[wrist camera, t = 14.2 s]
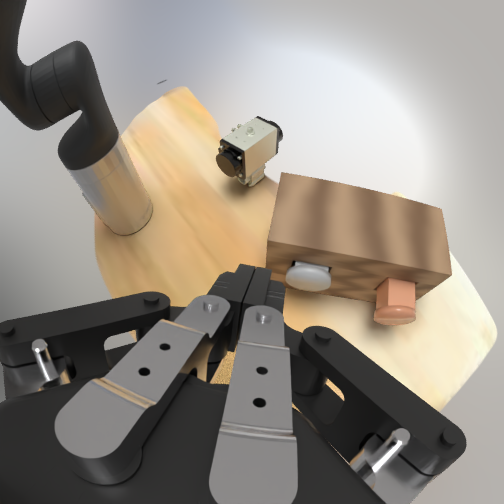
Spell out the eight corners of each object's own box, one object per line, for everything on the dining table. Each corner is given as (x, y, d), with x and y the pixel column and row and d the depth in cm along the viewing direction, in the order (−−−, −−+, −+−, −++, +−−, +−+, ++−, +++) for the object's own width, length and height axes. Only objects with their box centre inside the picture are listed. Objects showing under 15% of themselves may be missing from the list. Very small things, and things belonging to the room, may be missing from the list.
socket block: (264, 283, 41) (267, 240, 29) (276, 227, 45) (281, 172, 34) (405, 306, 38) (451, 275, 27) (404, 251, 43) (441, 208, 31)
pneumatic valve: (281, 167, 52) (285, 117, 41) (239, 203, 48) (234, 152, 37) (259, 154, 53) (259, 105, 43) (217, 187, 49) (208, 137, 39)
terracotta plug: (367, 322, 34) (384, 311, 29) (370, 249, 38) (384, 230, 33) (402, 326, 33) (423, 316, 28) (402, 256, 38) (419, 238, 33)
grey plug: (283, 286, 36) (287, 269, 31) (294, 217, 41) (299, 194, 36) (324, 293, 36) (335, 278, 31) (331, 224, 41) (340, 202, 36)
